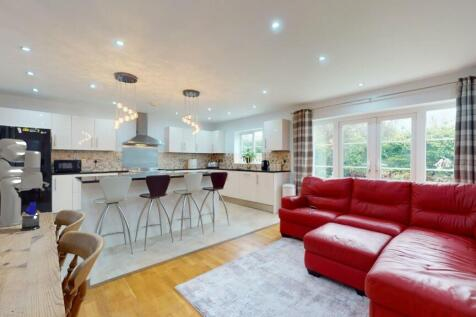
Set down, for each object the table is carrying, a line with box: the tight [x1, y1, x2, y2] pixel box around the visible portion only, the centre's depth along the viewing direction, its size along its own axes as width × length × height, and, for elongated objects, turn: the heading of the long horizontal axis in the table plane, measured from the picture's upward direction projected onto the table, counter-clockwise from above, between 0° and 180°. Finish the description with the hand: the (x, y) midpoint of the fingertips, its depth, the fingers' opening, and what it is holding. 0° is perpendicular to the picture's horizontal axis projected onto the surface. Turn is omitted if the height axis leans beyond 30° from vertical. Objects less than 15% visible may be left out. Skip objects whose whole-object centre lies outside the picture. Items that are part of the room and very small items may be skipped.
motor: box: [20, 209, 41, 232], centre depth 141 cm, size 9×9×11 cm
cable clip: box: [25, 201, 37, 215], centre depth 141 cm, size 12×4×6 cm, turn 42°
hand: (31, 197), depth 141 cm, fingers open, 9 cm apart
